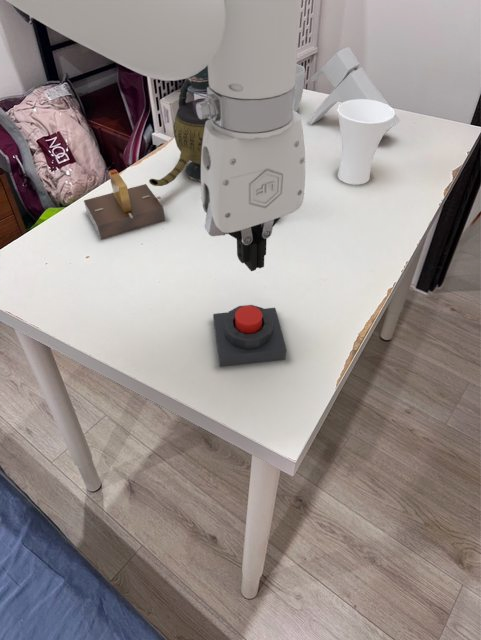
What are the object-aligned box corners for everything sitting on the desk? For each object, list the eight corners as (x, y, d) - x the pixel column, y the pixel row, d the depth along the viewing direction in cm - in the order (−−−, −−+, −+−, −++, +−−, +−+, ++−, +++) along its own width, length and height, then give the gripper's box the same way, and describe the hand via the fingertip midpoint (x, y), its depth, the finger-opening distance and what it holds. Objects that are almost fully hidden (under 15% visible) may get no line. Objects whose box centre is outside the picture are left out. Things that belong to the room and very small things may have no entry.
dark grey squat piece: (219, 367, 62) (218, 348, 59) (213, 324, 68) (212, 304, 65) (285, 360, 63) (287, 340, 60) (274, 317, 68) (275, 298, 66)
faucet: (388, 129, 100) (335, 48, 97) (338, 168, 113) (290, 98, 111) (401, 119, 103) (350, 41, 101) (351, 158, 117) (305, 90, 114)
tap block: (102, 242, 81) (98, 227, 79) (86, 212, 87) (82, 197, 85) (166, 223, 85) (164, 208, 83) (147, 196, 91) (144, 181, 89)
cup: (389, 176, 96) (406, 110, 86) (359, 196, 91) (373, 128, 81) (347, 159, 101) (359, 94, 91) (317, 176, 96) (325, 110, 86)
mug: (275, 101, 122) (277, 59, 114) (306, 108, 119) (311, 66, 111) (252, 120, 114) (253, 76, 107) (285, 127, 111) (288, 83, 104)
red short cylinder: (237, 335, 61) (237, 326, 60) (233, 315, 64) (233, 306, 62) (263, 332, 62) (264, 323, 60) (259, 313, 64) (259, 304, 63)
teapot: (254, 161, 100) (256, 40, 83) (181, 217, 86) (166, 85, 69) (208, 147, 105) (202, 29, 88) (132, 198, 91) (107, 69, 74)
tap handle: (132, 210, 82) (126, 184, 78) (124, 212, 82) (118, 186, 78) (121, 194, 86) (115, 168, 82) (114, 196, 85) (108, 170, 82)
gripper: (192, 141, 37) (207, 303, 50) (345, 102, 42) (322, 260, 55) (158, 106, 42) (181, 264, 55) (299, 75, 46) (288, 227, 60)
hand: (251, 262), depth 55 cm, fingers closed
